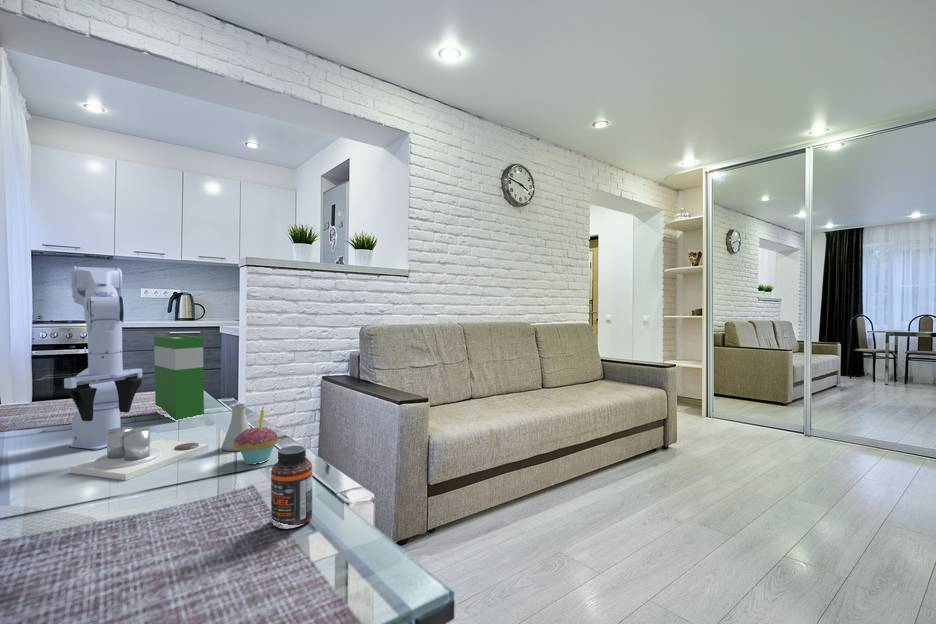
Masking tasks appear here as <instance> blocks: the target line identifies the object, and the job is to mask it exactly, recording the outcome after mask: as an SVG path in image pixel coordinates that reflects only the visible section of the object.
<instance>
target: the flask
mask: <svg viewBox="0 0 936 624" xmlns="http://www.w3.org/2000/svg"><path fill="white" fill-rule="evenodd" d="M247 406H248V404H246V403H235V404H232V405H230V409H231V419H230V424H229V426H228V428H227V433H226V434H225V438H224V440H223V443H222V445H221V447H220V450H224V451H228V452H231V451H232V452H235V451H240V450H239V449H237V448H235V447H234V440H235V439H236V437H237V436H238V435H239V434H241V433H242V432H243V431H245V430H246V429H250V428H251V427H250V423H249V421H248V418H247V414H246V408H247Z"/></svg>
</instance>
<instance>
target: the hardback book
mask: <svg viewBox="0 0 936 624" xmlns="http://www.w3.org/2000/svg"><path fill="white" fill-rule="evenodd" d="M153 338H154V340H153V341H154V342H153V343H154V397H155V398H154V399H155V402H154V403H155V404H154V406H155V405H157V406H159V407H161V408H162V409H163V410H164V411H166V412H167V413H168V414H169V415H170V416H171V417H173V418H174V419H175V420H178V419H183V418H187V417H193V416H196V415H201V414H204V415H205V401H204V400H205V399H204V397H205V395H204V394H205V390H204V389H205V388H204V387H205V386H204V385H205V384H204V383H205V382H204V336H195V335H194V336H193V335H187V334H186V335H185V334H177V336H176V337H168V336H160V335H158V336H157V335H154V337H153Z"/></svg>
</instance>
